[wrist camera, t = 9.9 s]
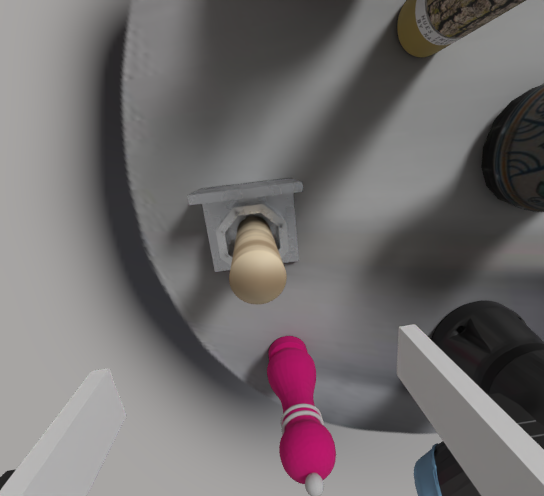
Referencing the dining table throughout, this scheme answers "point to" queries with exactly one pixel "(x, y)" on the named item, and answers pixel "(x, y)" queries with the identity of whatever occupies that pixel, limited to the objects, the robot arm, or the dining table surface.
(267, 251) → the wooden spindle
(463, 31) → the paper tube
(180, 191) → the dining table surface
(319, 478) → the pepper mill
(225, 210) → the cup bracket
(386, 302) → the dining table surface
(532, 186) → the black tapered vessel
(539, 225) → the dining table surface
